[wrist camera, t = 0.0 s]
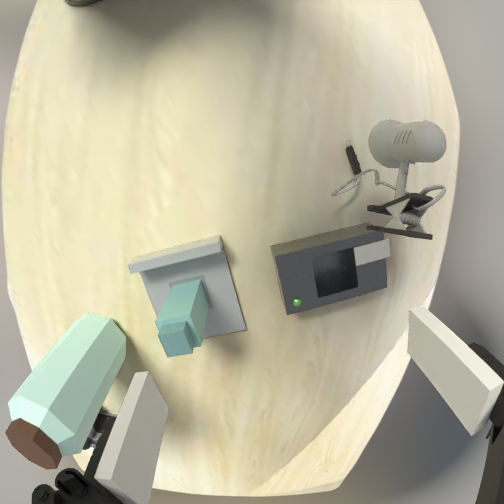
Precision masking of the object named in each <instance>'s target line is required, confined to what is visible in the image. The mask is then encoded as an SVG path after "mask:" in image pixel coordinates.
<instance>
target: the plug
mask: <svg viewBox="0 0 504 504" xmlns="http://www.w3.org/2000/svg"><path fill="white" fill-rule="evenodd" d="M208 308H209V304H208V301H207V298H206V295H205V292H204V289H203V286H202V282H201V279H200V280H196V281H191V282H187V283H183V284H178V285H174V286H172V288H171V290H170V292H169V294H168V296H167V298H166V300H165V302H164V304H163V306H162V308H161V310H160V312H159V314H158V317H157V319H156V321H155V323H156V326H157V328H158V330H159V334H158V337H159V339H160V342H161V344H162V346H163V348H164V351H165V353H166V355H167V357H173V356H179V355H185V354H191V353H193V348H194V347H200V346H202V341H203V335H204V330H205V324H206V319H207V313H208Z"/></svg>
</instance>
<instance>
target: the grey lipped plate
mask: <svg viewBox="0 0 504 504" xmlns="http://www.w3.org/2000/svg"><path fill="white" fill-rule="evenodd" d="M128 267H129V270H130V273H131V274H133V273H137V272H140V274H141V277H142V279H143V282H144V285H145V288H146V290H147V293H148V296H149V298H150V301H151V303H152V306H153V309H154V311H155V314H156V316H157V317H158V314H159V312H160V310H161V308H162V306H163V304H164V302H165V300H166V298H167V296H168V294H169V292H170V290H171V288H172V286H174V285H178V284H183V283H187V282H191V281H196V280H200V279H201V282H202V286H203V289H204V292H205V295H206V298H207V301H208V304H209V308H208V313H207V319H206V324H205V330H204V335H203V338H207V337H212V336H217V335H222V334H227V333H231V332H236V331H241V330H245V329H246V326H245V323H244V319H243V316H242V312H241V309H240V305H239V302H238V298H237V295H236V291H235V288H234V284H233V281H232V277H231V274H230V270H229V266H228V263H227V259H226V255H225V252H224V248H223V244H222V241H221V237H220V235H219V236H215V237H211V238H207V239H203V240H199V241H195V242H191V243H187V244H183V245H179V246H176V247H172V248H168V249H164V250H160V251H156V252H152V253H149V254H145V255H141V256H137V257H136V258H135V259H134V260H133V261H131V262H130V263H129V264H128Z"/></svg>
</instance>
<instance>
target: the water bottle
mask: <svg viewBox="0 0 504 504" xmlns="http://www.w3.org/2000/svg"><path fill="white" fill-rule="evenodd" d="M125 358H126V337H125V335H124V333H123V332H122V331H121V330H120V329H119V327H118V326H117V325H116V324H115V323H114V321H113V320H112V319H111V318H108V317H104V316H101V315H97V314H94V313H90V312H88V313H86V314H85V315H84V316H82V317H81V318H80V319H78V320H77V321H75V322H74V323H73V324H72V325H71V327H70V328H69V329H68V330H67V331H66V332H65V333H64V335H63V336H62V337H61V338H60V339H59V340H58V341H57V343H56V344H55V345H54V346H53V347H52V348H51V350H50V351H49V352H48V353H47V354H46V355H45V357H44V358H43V359H42V360H41V361H40V363H39V364H38V365H37V366H36V368H35V369H34V370H33V371H32V372H31V374H30V375H29V376H28V377H27V379H26V380H25V381H24V382H23V384H22V385H21V386H20V388H19V389H18V390H17V392H16V393H15V394H14V395H13V397H12V398H11V399H10V401H9V402H8V404H9V409H10V414H11V419H12V422H11V424H10V426H9V427H8V429H7V430H6V432H5V433H6V435H7V436H8V439H9V440H10V442H11V444H12V446H13V447H15V448H16V449H17V450H18V451H19V452H20V453H21V454H22V455H23V456H24V457H26V458H27V459H28V460H29V461H31V462H33V463H35V464H37V465H39V466H41V467H43V468H45V469H56V468H57V467H58V465H59V462H60V460H61V458H62V456H67V455H72V454H77V453H81V451H82V449H83V446H84V444H85V442H86V440H87V437H88V435H89V433H90V431H91V428H92V426H93V424H94V422H95V420H96V417H97V415H98V413H99V411H100V409H101V407H102V405H103V403H104V400H105V398H106V396H107V394H108V392H109V390H110V388H111V386H112V384H113V382H114V380H115V378H116V376H117V374H118V372H119V370H120V368H121V366H122V364H123V362H124V360H125Z"/></svg>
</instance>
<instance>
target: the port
mask: <svg viewBox="0 0 504 504" xmlns="http://www.w3.org/2000/svg"><path fill="white" fill-rule="evenodd" d="M367 225H372V224H370V223H365V224H361V225H357V226H353V227H348V228H344V229H340V230H336V231H332V232H327V233H323V234H319V235H315V236H311V237H307V238H302V239H298V240H294V241H290V242H286V243H282V244H277V245H273V246H271V251H272V255H273V260H274V264H275V269H276V273H277V278H278V282H279V287H280V291H281V296H282V300H283V303H284V306H285V310H286V313H287V315H289V314H293V313H297V312H301V311H305V310H309V309H313V308H316V307H320V306H324V305H327V304H331V303H335V302H338V301H342V300H345V299H349V298H352V297H356V296H359V295H363V294H366V293H369V292H373V291H376V290H379V289H383V288H386V287H387V274H386V260H385V258H387V257H390V244H389V238H388V239H384V238H383V232H380V231H374V230H368V229H366V227H367ZM372 226H374V225H372Z"/></svg>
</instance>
